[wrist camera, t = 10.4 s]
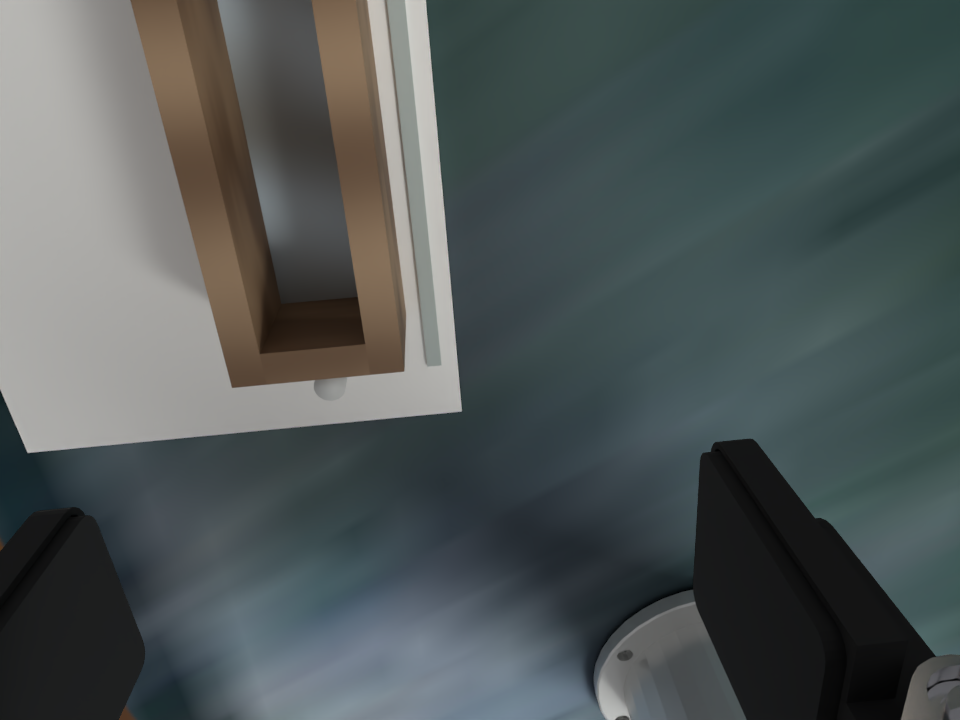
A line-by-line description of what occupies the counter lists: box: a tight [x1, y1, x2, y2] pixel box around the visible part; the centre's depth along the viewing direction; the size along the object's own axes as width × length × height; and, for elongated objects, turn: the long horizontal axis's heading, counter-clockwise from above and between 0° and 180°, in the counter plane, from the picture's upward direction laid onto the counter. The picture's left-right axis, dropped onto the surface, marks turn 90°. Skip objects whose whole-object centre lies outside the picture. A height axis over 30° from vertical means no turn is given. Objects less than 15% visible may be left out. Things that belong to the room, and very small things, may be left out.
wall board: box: [0, 0, 462, 453], centre depth 25 cm, size 22×19×4 cm
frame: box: [130, 0, 406, 388], centre depth 24 cm, size 14×6×5 cm, turn 4°
